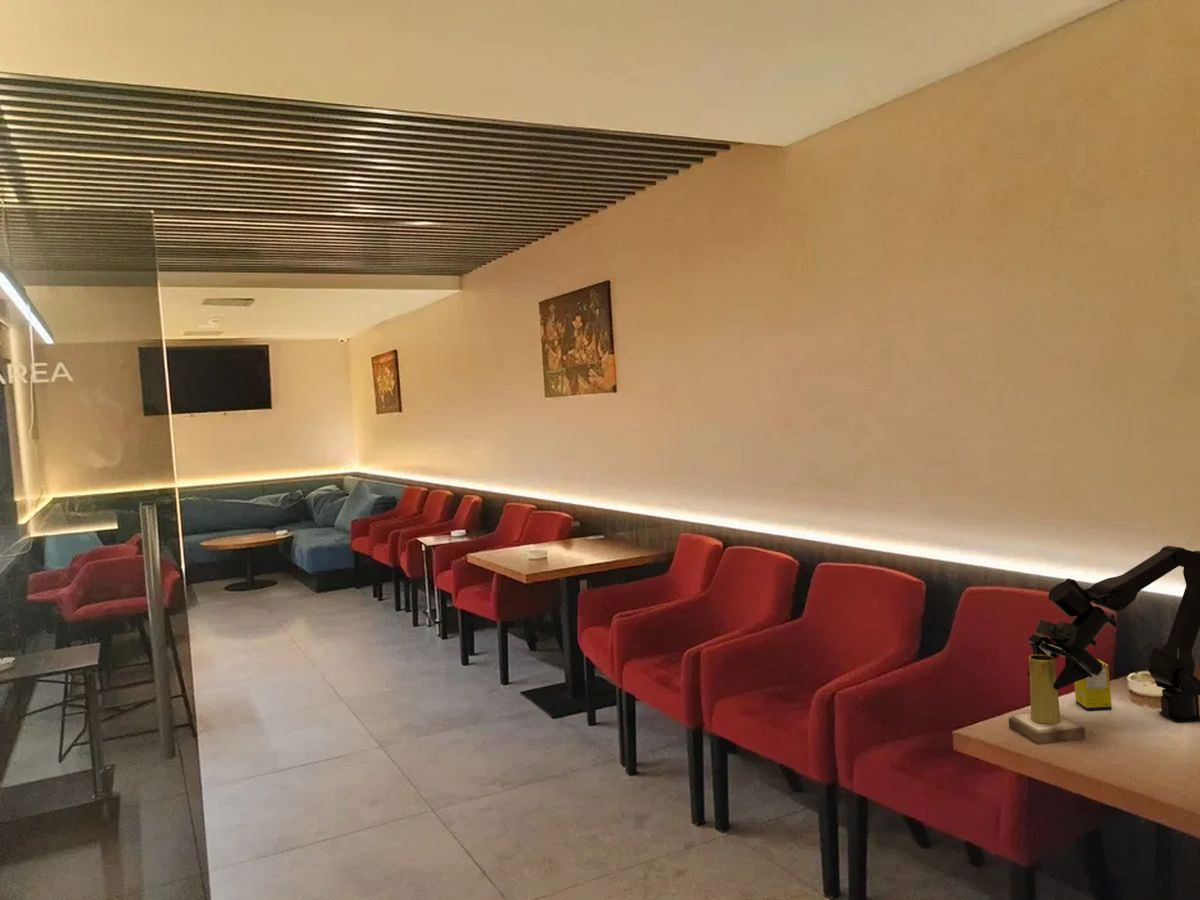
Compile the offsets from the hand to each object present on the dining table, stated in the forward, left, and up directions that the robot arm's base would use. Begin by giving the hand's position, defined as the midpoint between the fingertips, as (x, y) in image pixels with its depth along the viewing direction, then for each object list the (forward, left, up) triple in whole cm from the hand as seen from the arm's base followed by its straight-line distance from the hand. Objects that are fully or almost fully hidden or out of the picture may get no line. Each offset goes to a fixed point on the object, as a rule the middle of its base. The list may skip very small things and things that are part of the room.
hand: (1041, 682), depth 191 cm
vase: (0, 0, -9) cm, 9 cm away
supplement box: (-19, -15, -12) cm, 27 cm away
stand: (0, 0, -12) cm, 12 cm away
